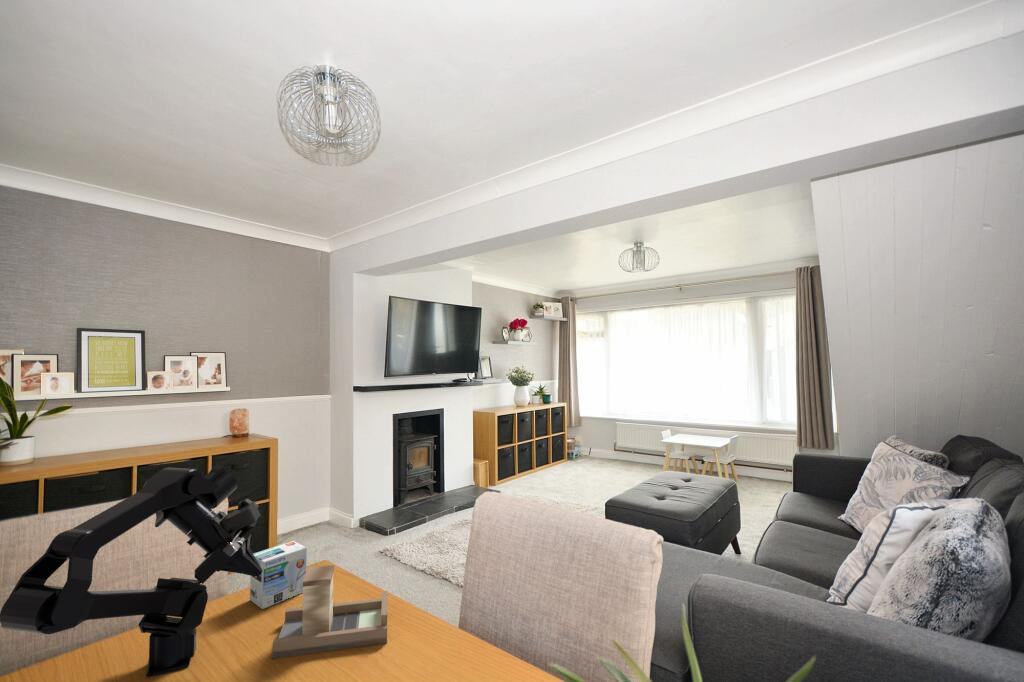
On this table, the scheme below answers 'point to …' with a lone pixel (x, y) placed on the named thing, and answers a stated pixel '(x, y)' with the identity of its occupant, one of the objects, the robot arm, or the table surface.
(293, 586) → the light bulb box
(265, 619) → the table surface
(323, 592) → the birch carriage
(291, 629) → the box
